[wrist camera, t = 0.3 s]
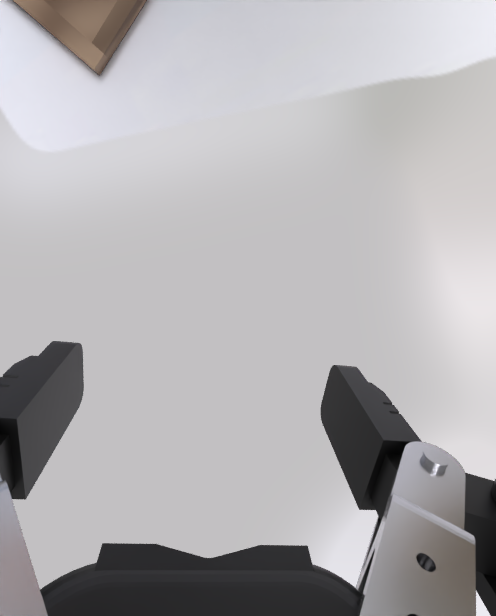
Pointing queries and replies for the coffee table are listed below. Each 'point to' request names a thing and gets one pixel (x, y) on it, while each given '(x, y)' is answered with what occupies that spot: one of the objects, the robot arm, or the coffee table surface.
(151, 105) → the coffee table surface
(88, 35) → the slot board
